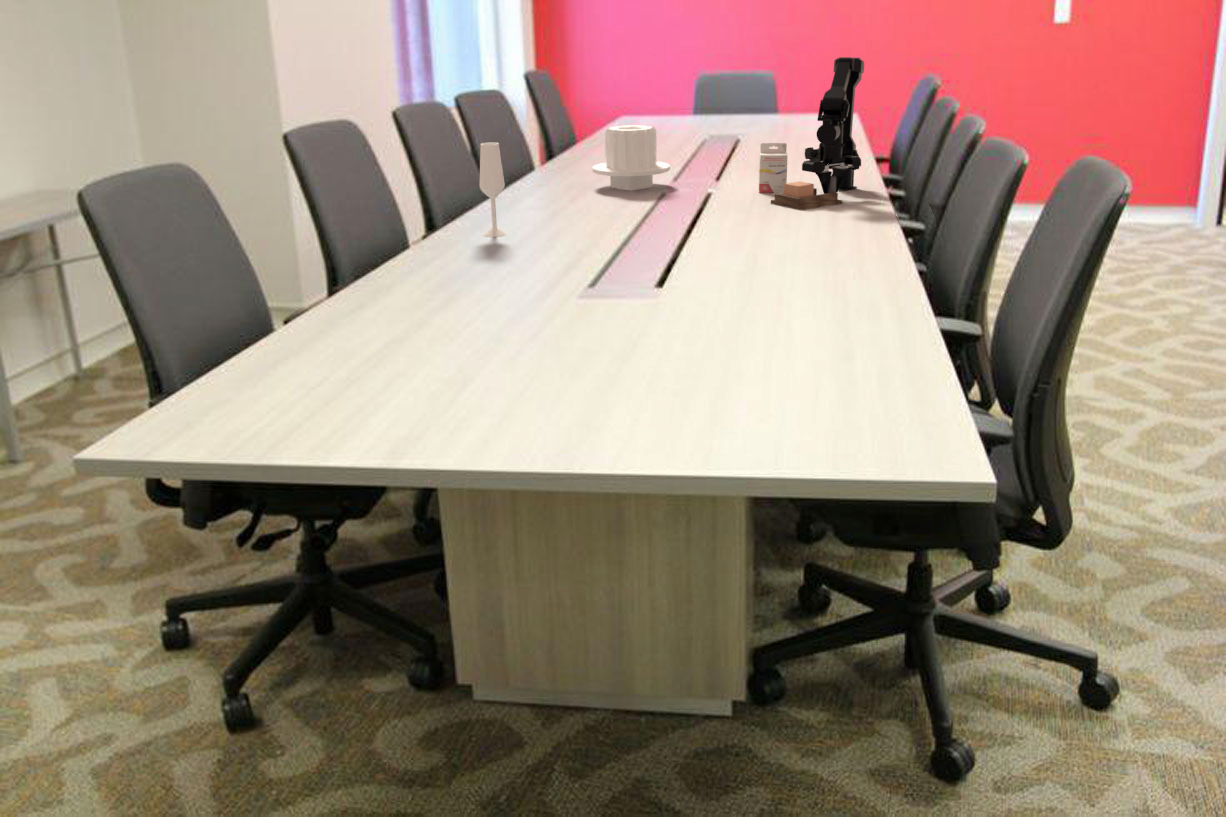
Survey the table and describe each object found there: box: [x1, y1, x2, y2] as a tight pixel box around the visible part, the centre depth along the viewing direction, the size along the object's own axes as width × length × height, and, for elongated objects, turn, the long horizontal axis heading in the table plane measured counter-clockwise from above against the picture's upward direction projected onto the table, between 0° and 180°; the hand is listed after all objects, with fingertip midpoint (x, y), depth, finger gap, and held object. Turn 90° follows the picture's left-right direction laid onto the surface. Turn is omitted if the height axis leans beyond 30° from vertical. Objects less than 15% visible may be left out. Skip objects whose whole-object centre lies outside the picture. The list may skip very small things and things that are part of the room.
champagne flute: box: [479, 141, 508, 238], centre depth 312 cm, size 7×7×24 cm
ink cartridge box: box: [758, 142, 788, 194], centre depth 364 cm, size 9×5×15 cm, turn 84°
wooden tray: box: [770, 187, 843, 211], centre depth 345 cm, size 15×14×3 cm
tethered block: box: [784, 175, 836, 198], centre depth 346 cm, size 17×6×6 cm, turn 122°
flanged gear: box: [592, 124, 671, 192], centre depth 377 cm, size 25×25×19 cm
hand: (830, 193), depth 350 cm, fingers open, 4 cm apart
